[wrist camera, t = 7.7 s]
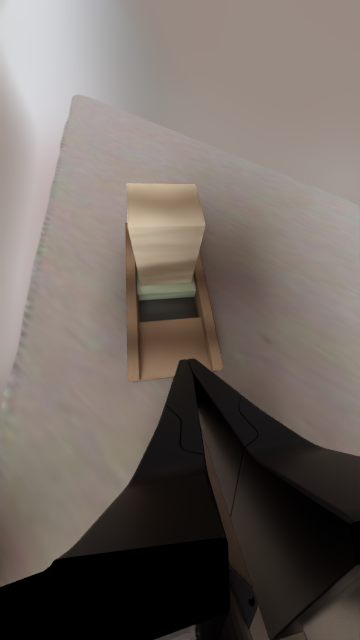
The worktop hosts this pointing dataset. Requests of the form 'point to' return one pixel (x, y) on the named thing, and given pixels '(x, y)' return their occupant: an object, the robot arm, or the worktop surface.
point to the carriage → (165, 231)
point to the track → (168, 324)
